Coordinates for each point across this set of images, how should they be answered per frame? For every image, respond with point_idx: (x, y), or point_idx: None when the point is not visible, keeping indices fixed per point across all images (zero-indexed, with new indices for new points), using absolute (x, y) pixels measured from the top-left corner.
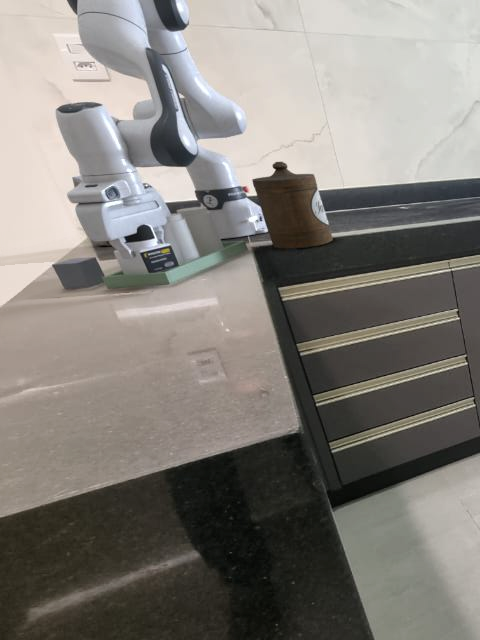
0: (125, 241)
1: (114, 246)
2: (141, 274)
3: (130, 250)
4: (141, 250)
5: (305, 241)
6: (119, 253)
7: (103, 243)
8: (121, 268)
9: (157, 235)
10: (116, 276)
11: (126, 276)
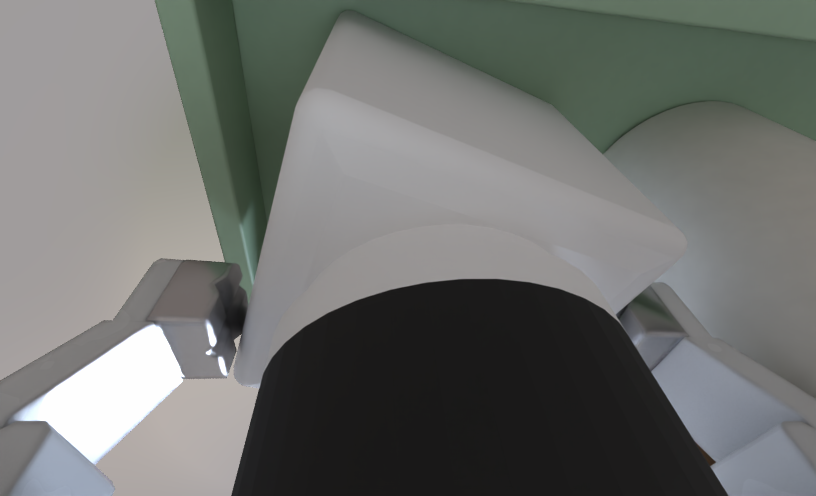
0: (105, 491)
1: (10, 390)
2: (220, 239)
3: (185, 370)
4: (258, 387)
5: (701, 451)
6: (278, 181)
7: None
8: (327, 40)
9: (702, 406)
10: (174, 69)
11: (195, 146)
